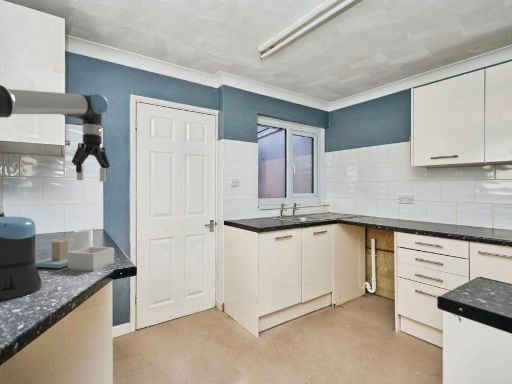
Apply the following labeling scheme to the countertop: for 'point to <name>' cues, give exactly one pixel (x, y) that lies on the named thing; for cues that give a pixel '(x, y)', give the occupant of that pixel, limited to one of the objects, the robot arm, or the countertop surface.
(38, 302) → the countertop surface
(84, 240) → the mug
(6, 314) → the countertop surface
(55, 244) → the lid
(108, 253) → the tub
